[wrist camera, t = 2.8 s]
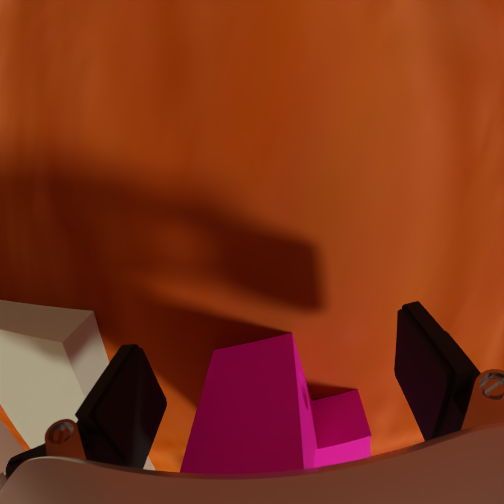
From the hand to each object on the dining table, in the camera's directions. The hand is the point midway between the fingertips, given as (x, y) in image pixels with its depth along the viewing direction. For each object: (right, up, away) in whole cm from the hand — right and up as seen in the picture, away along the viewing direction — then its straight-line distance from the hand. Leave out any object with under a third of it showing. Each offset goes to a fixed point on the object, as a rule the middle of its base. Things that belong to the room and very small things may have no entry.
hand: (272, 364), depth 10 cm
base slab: (-13, -7, +7) cm, 17 cm away
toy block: (+3, -7, +6) cm, 9 cm away
